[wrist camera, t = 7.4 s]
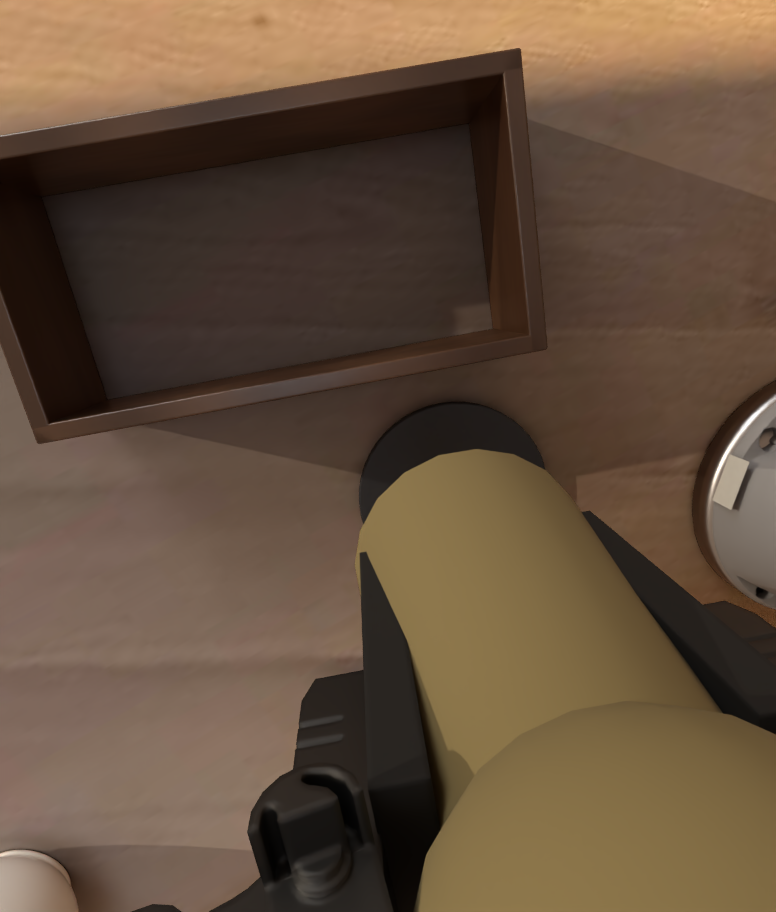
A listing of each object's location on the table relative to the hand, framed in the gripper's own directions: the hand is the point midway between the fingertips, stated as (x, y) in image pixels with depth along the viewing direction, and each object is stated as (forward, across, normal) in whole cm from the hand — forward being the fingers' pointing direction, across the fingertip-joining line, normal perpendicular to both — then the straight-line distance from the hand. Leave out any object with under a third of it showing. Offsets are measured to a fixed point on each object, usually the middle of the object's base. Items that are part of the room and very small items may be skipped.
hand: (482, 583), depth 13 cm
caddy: (+18, +5, -10) cm, 21 cm away
